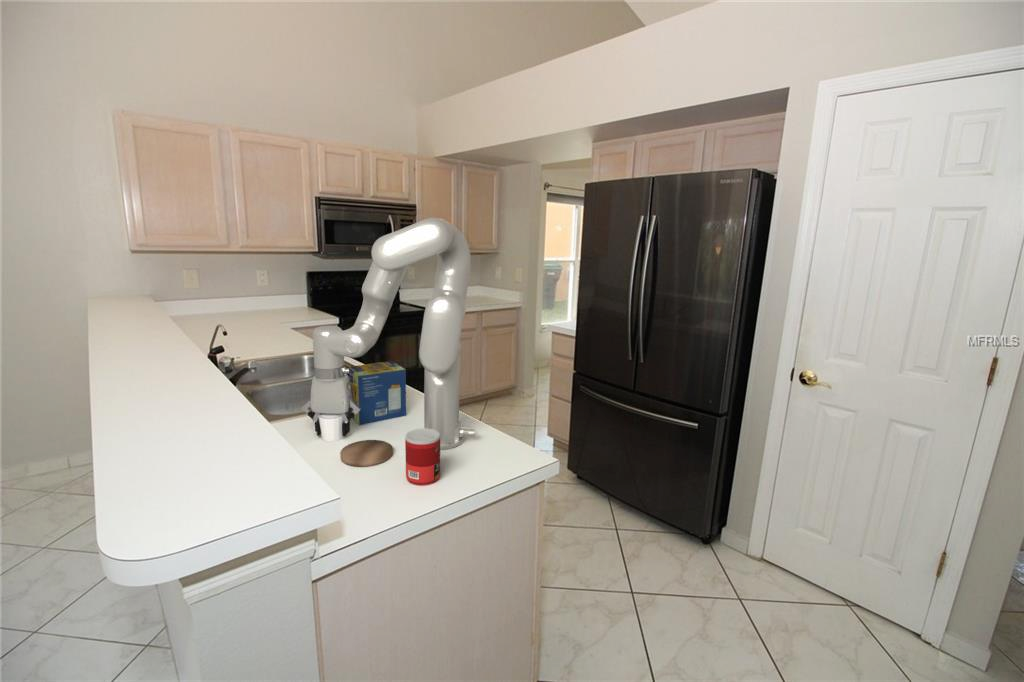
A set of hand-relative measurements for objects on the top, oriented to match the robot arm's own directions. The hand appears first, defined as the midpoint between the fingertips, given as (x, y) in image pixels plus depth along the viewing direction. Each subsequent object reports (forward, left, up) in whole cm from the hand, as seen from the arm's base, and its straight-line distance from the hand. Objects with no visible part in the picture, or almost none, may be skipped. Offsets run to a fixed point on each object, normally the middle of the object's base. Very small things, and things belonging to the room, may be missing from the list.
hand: (332, 433), depth 132 cm
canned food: (-28, +21, -1) cm, 35 cm away
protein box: (-8, -17, -1) cm, 19 cm away
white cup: (0, 0, -1) cm, 1 cm away
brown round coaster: (-12, +10, -1) cm, 16 cm away
